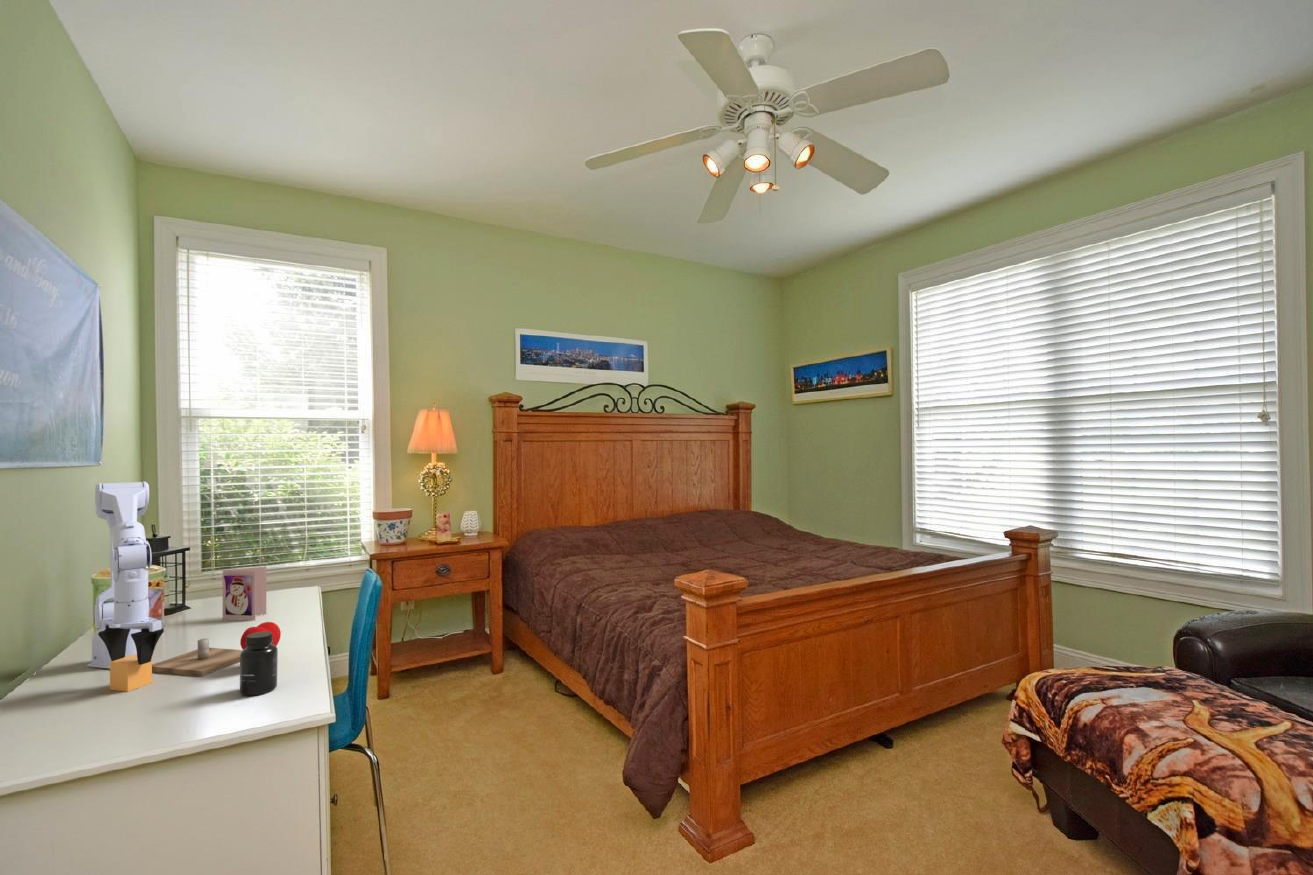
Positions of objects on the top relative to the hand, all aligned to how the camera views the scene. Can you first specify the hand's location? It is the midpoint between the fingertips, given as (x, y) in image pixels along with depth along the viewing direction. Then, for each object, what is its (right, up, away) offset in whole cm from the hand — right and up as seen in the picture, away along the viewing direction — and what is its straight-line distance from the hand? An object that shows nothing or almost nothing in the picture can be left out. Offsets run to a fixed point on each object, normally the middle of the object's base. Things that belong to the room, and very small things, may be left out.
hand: (131, 661), depth 135 cm
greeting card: (-11, -7, +55) cm, 57 cm away
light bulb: (+21, -6, +11) cm, 25 cm away
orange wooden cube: (0, -5, 0) cm, 5 cm away
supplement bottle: (+30, -5, -3) cm, 31 cm away
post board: (+5, -6, +14) cm, 16 cm away
